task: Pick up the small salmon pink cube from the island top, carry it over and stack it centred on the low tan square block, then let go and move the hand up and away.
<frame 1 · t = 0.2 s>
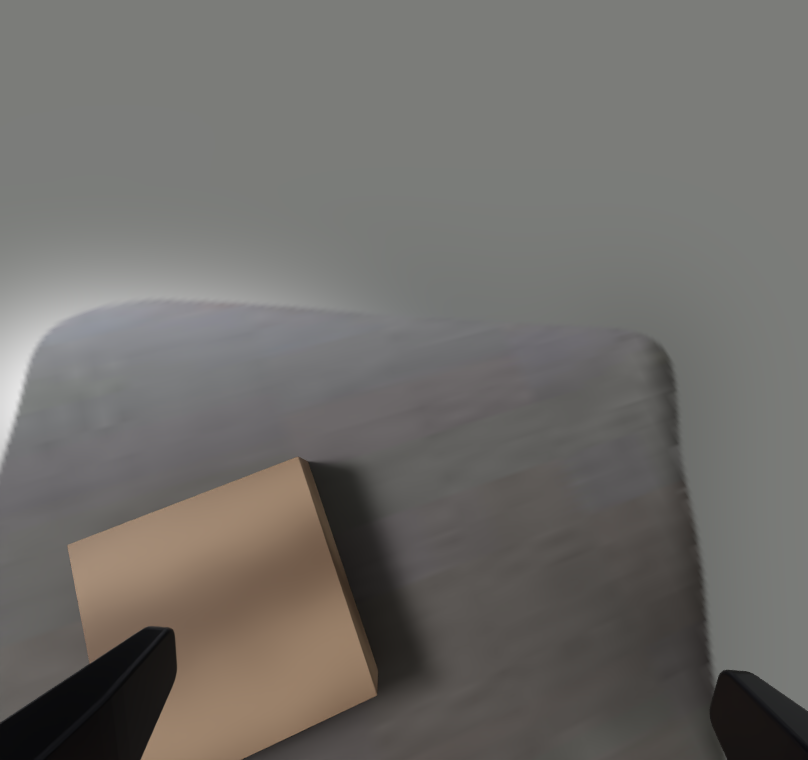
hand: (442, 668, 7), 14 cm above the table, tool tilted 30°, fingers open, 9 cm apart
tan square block: (241, 601, 20), on the table
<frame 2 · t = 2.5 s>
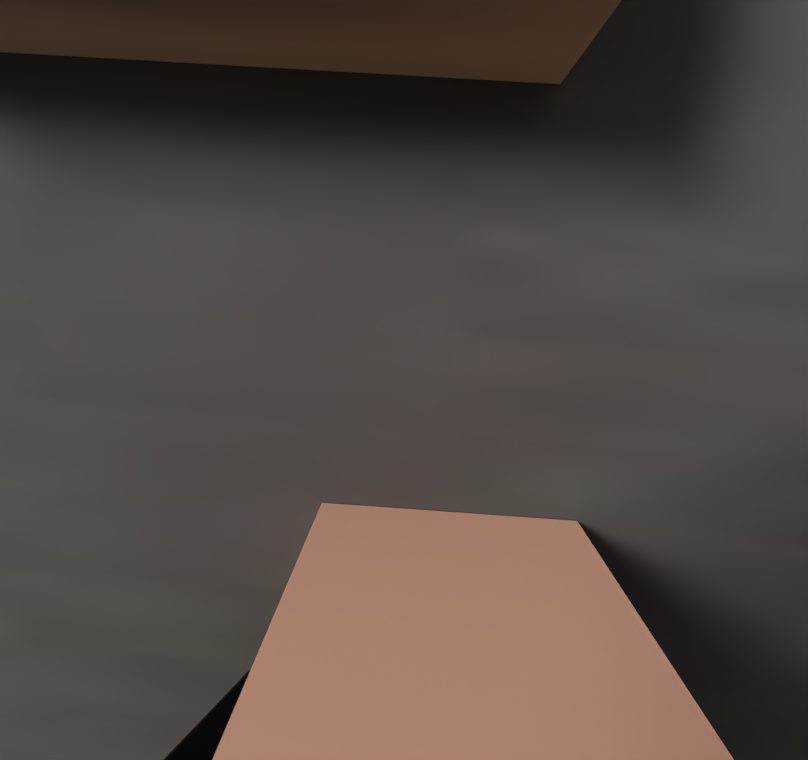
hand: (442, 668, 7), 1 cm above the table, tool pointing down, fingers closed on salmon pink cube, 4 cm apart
salmon pink cube: (438, 619, 8), on the table, touching gripper
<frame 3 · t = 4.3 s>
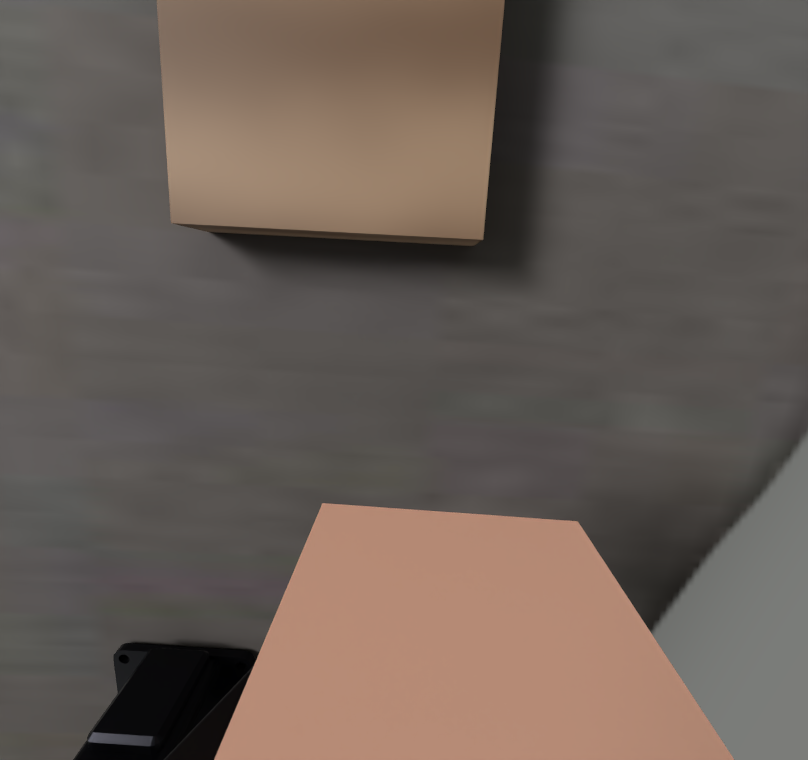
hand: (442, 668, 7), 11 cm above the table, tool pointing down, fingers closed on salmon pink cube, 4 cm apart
salmon pink cube: (439, 619, 8), point 10 cm above the table, touching gripper
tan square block: (344, 94, 16), on the table
when the fingers open (5 cm above the table, at t = 6.3 s): salmon pink cube drops 2 cm, point 2 cm above the table.
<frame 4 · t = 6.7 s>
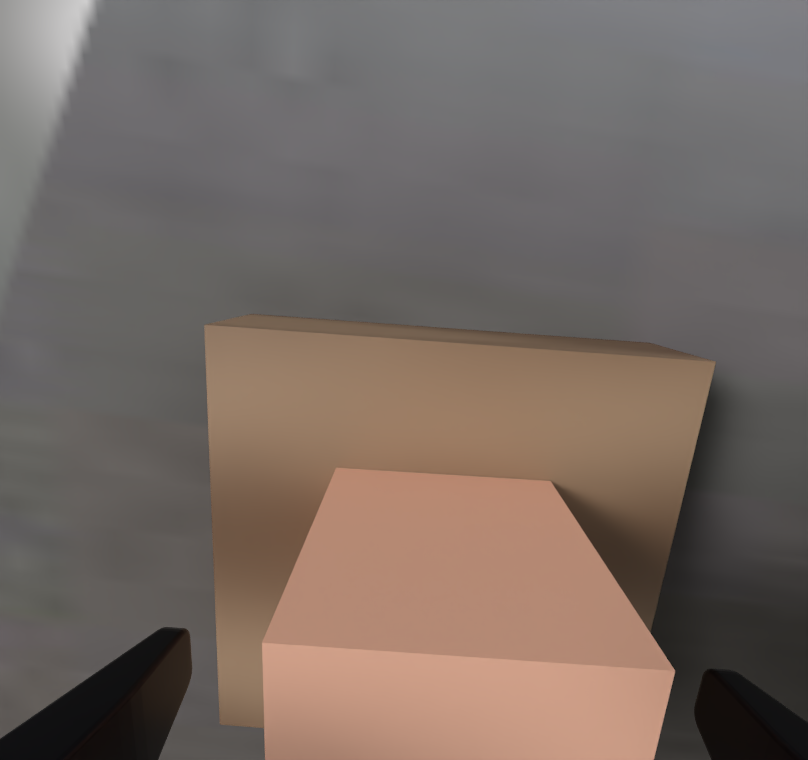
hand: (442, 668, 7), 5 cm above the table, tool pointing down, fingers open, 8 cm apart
salmon pink cube: (435, 567, 10), point 2 cm above the table
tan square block: (431, 498, 13), on the table
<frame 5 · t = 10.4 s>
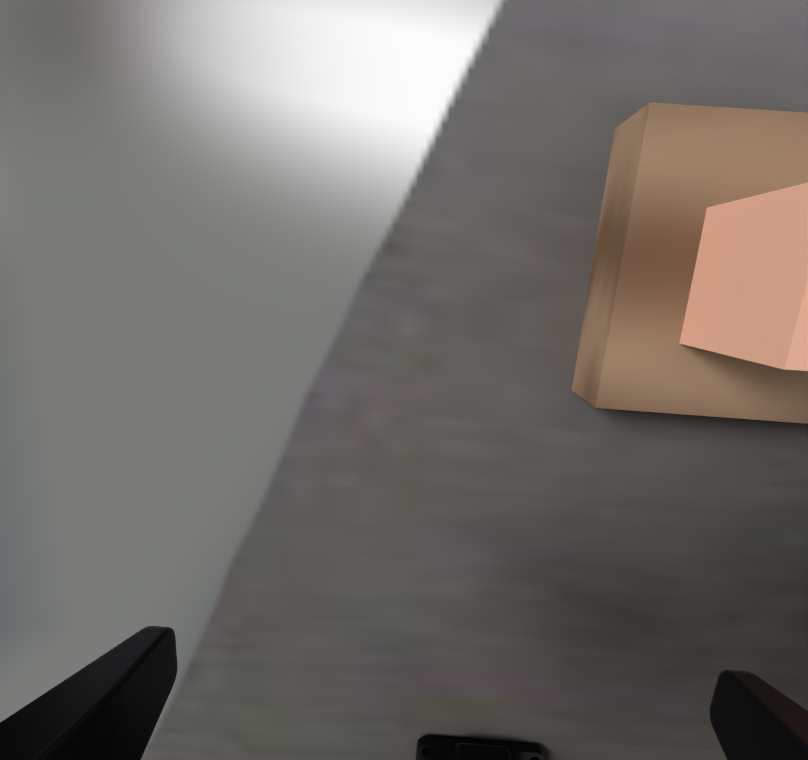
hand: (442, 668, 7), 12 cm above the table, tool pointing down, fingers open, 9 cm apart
salmon pink cube: (759, 281, 15), point 2 cm above the table, touching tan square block
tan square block: (710, 277, 18), on the table, touching salmon pink cube
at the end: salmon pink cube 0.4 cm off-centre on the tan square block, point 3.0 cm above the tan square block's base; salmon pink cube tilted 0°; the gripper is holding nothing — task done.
